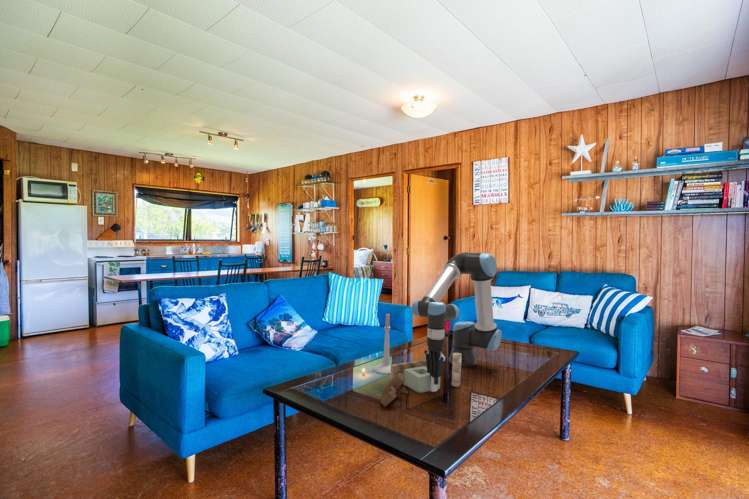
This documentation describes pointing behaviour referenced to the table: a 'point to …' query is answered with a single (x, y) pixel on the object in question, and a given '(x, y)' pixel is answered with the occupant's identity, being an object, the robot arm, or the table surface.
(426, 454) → the table surface
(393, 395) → the wooden block set
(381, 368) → the candlestick
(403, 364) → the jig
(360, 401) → the table surface
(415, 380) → the sliding block
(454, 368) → the dowel
